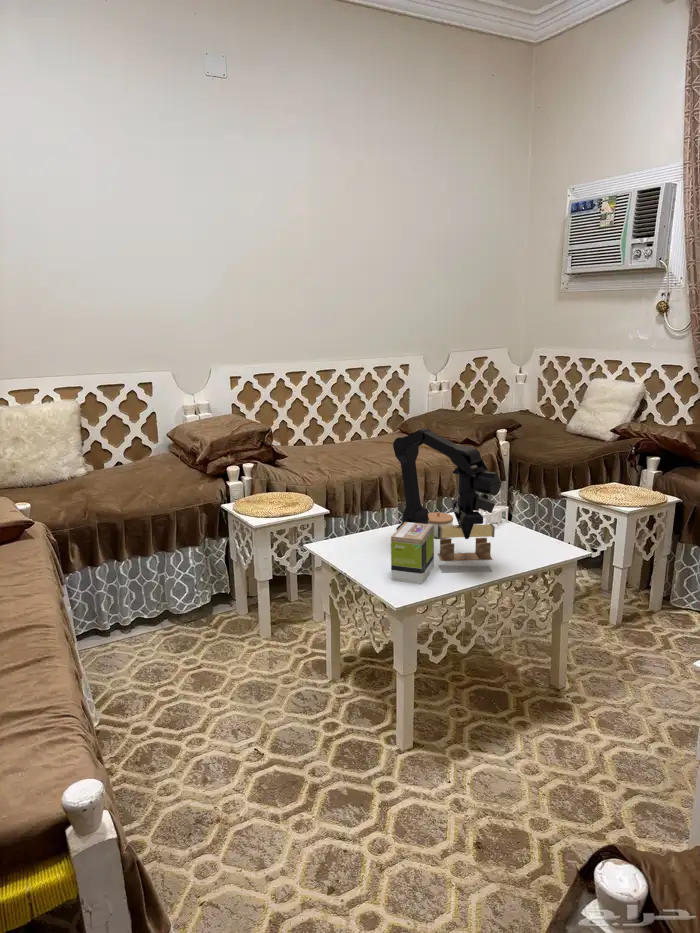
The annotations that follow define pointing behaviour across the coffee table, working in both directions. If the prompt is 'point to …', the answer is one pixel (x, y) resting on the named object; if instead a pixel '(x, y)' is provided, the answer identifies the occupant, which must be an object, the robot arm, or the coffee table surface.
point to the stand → (480, 553)
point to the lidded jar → (439, 521)
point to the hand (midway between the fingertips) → (465, 537)
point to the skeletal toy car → (495, 515)
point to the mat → (463, 568)
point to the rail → (456, 531)
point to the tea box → (412, 552)
